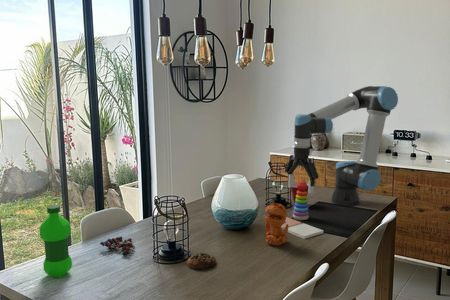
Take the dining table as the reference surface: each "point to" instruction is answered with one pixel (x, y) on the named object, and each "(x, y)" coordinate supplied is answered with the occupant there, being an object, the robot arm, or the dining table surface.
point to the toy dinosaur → (276, 224)
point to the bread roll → (201, 261)
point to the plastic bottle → (56, 243)
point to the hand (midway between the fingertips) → (300, 189)
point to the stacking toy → (301, 202)
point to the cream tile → (304, 231)
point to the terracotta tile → (290, 223)
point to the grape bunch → (119, 244)
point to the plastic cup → (294, 191)
